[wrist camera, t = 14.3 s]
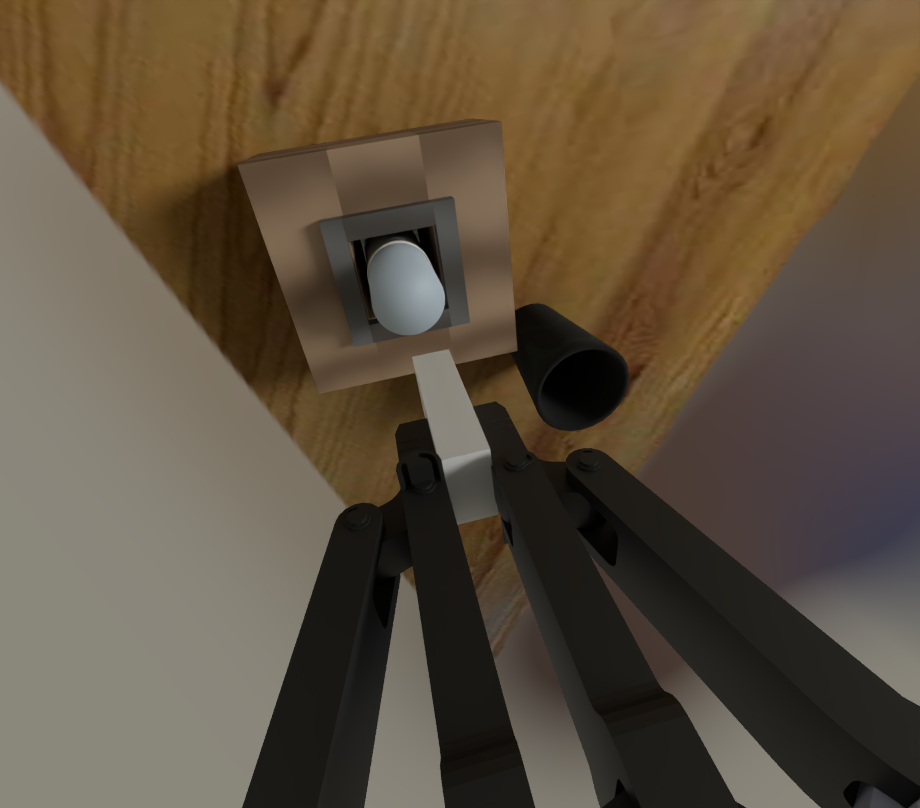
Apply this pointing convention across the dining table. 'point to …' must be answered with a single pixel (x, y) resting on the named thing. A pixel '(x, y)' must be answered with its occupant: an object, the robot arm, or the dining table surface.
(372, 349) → the socket block
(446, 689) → the robot arm
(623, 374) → the cup
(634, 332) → the dining table surface
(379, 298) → the peg
